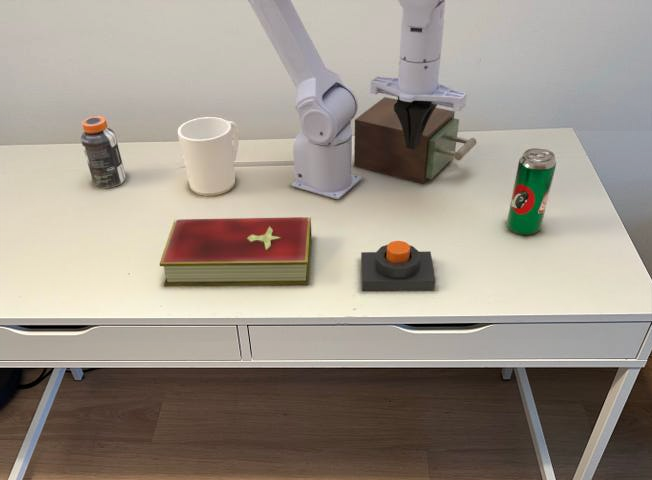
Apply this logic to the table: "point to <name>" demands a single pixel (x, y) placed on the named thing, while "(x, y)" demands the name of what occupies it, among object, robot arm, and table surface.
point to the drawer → (446, 148)
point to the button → (398, 252)
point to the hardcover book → (238, 252)
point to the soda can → (531, 191)
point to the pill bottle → (102, 153)
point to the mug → (209, 154)
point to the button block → (397, 271)
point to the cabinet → (393, 142)
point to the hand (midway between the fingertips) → (412, 146)
